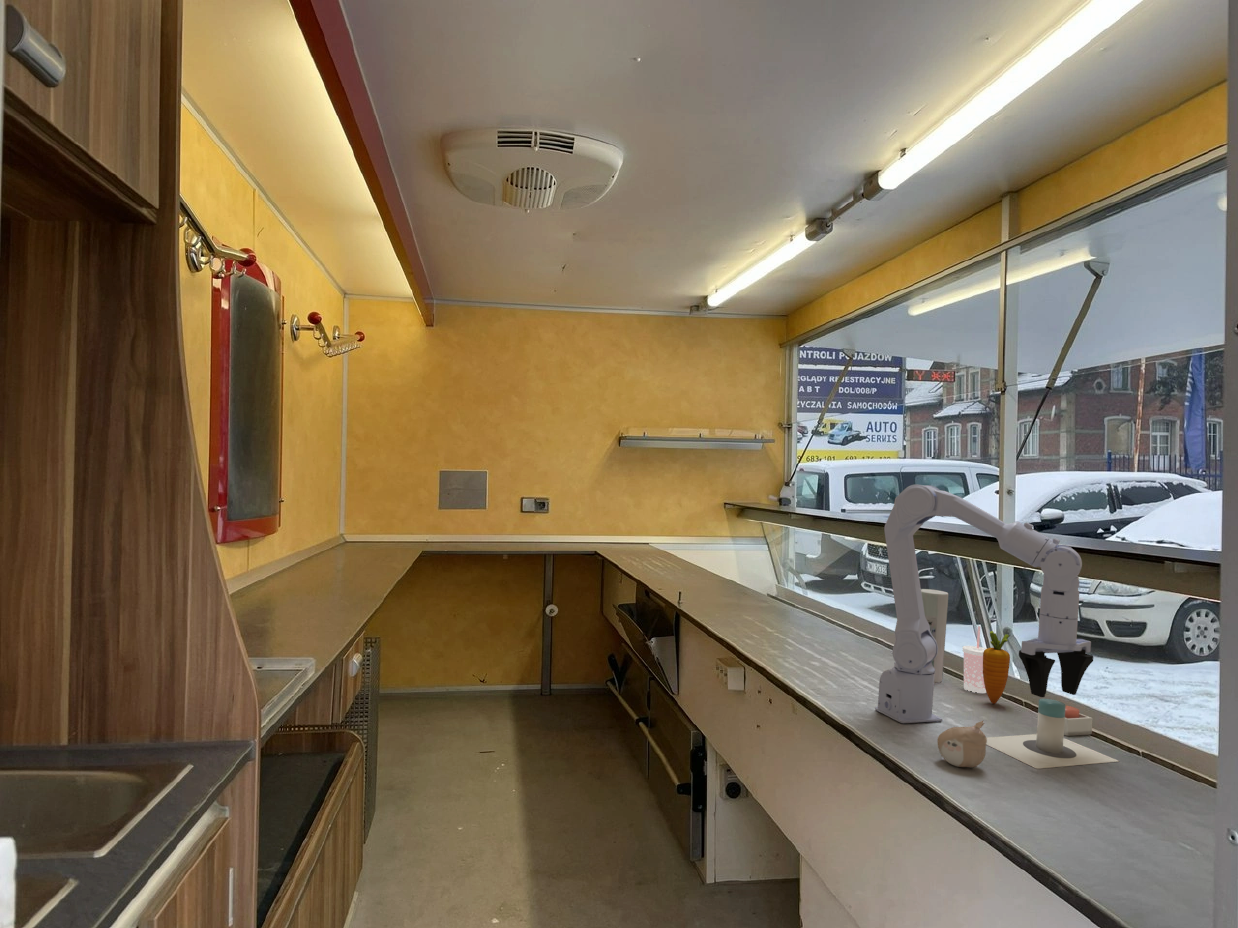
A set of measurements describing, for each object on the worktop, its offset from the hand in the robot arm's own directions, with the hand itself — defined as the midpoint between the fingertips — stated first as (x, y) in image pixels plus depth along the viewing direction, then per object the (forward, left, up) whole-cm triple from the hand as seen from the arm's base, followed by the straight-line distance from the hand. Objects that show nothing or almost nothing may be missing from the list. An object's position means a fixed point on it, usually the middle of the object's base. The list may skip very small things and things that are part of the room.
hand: (1053, 694), depth 129 cm
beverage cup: (+14, +32, -10) cm, 36 cm away
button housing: (+12, +8, -9) cm, 17 cm away
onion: (-23, -3, -10) cm, 25 cm away
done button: (+12, +8, -7) cm, 16 cm away
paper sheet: (-2, 0, -9) cm, 10 cm away
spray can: (+9, +41, -10) cm, 43 cm away
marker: (-1, 0, -9) cm, 9 cm away
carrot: (+10, +23, -10) cm, 27 cm away
